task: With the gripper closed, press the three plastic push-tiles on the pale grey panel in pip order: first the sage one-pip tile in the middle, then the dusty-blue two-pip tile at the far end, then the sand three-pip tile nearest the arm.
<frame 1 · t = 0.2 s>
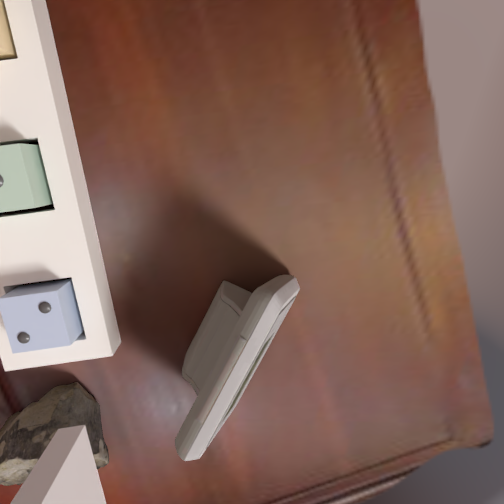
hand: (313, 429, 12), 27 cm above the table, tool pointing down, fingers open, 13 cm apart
tile one: (7, 179, 33), point 3 cm above the table, slide at 0.0 cm
tile panel: (27, 177, 36), on the table
tile two: (43, 314, 35), point 3 cm above the table, slide at 0.0 cm
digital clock: (240, 332, 41), on the table
grey rock: (64, 428, 42), on the table
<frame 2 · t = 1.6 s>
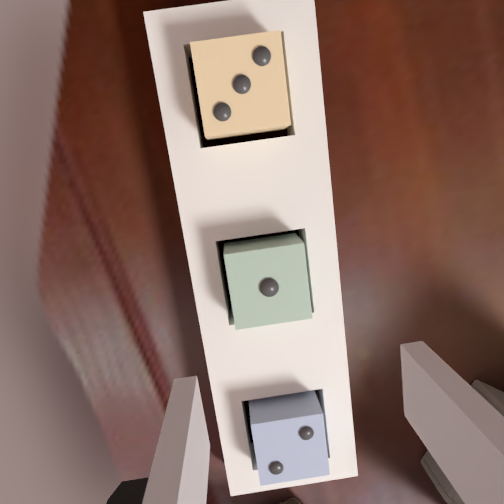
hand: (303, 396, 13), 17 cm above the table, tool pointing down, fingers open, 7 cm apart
tile three: (241, 90, 24), point 3 cm above the table, slide at 0.0 cm
tile one: (266, 279, 27), point 3 cm above the table, slide at 0.0 cm
tile panel: (262, 266, 30), on the table
tile two: (287, 433, 29), point 3 cm above the table, slide at 0.0 cm
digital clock: (482, 435, 35), on the table
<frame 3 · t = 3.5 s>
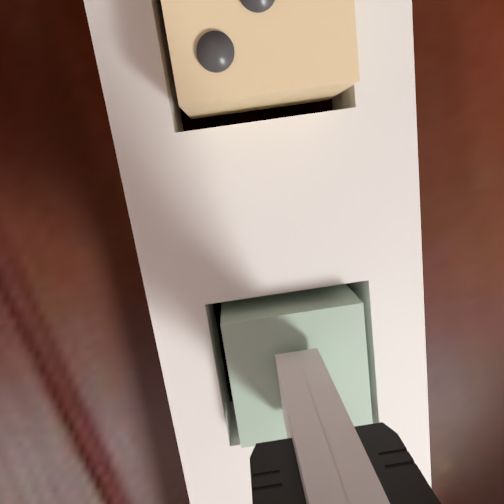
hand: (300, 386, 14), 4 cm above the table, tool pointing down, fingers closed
tile three: (253, 15, 12), point 3 cm above the table, slide at 0.0 cm
tile one: (292, 354, 16), point 2 cm above the table, slide at 1.3 cm, touching gripper
tile panel: (285, 333, 18), on the table
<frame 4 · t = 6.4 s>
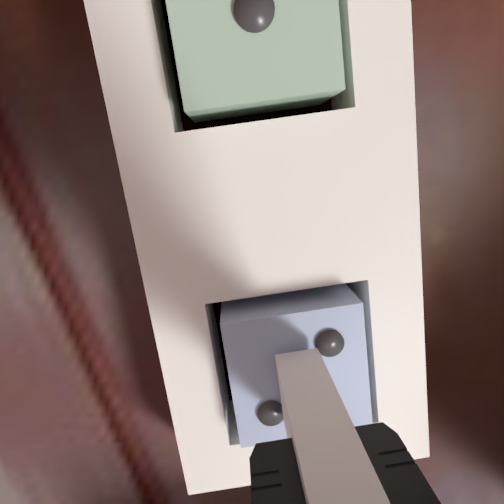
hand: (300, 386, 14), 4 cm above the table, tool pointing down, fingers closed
tile one: (251, 29, 13), point 2 cm above the table, slide at 1.3 cm
tile panel: (248, 46, 15), on the table
tile two: (292, 354, 16), point 2 cm above the table, slide at 1.3 cm, touching gripper
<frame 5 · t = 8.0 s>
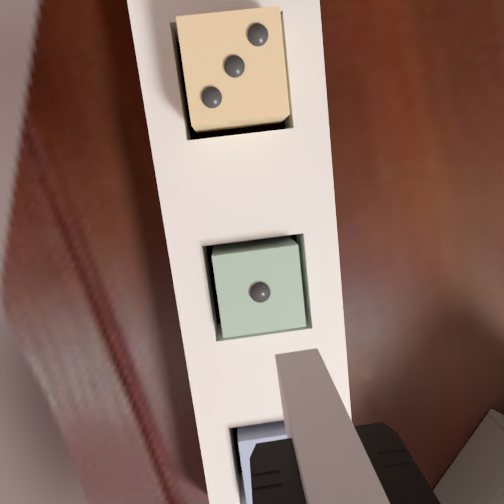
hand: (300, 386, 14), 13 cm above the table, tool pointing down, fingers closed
tile three: (233, 75, 21), point 3 cm above the table, slide at 0.0 cm
tile one: (257, 284, 25), point 2 cm above the table, slide at 1.3 cm
tile panel: (255, 276, 27), on the table
tile two: (277, 451, 27), point 2 cm above the table, slide at 1.3 cm
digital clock: (496, 471, 32), on the table
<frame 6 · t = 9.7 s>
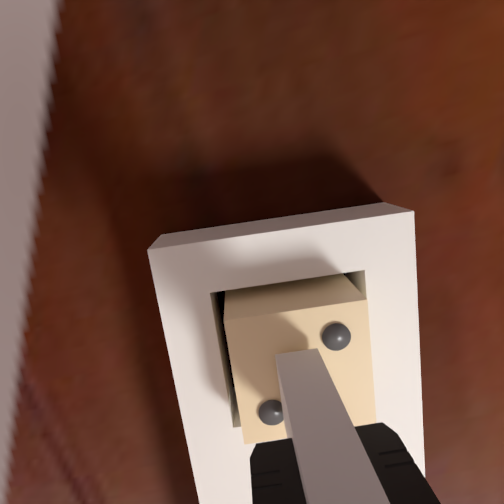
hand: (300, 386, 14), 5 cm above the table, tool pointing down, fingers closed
tile three: (295, 351, 16), point 3 cm above the table, slide at 0.4 cm, touching gripper
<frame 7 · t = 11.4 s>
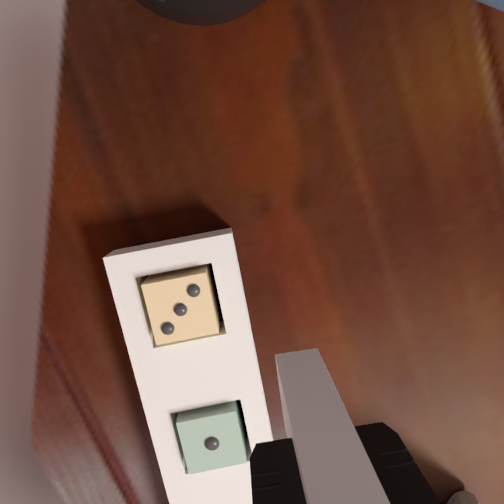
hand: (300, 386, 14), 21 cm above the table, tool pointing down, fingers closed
tile three: (183, 302, 32), point 2 cm above the table, slide at 1.4 cm
tile one: (212, 430, 35), point 2 cm above the table, slide at 1.3 cm
tile panel: (213, 416, 37), on the table
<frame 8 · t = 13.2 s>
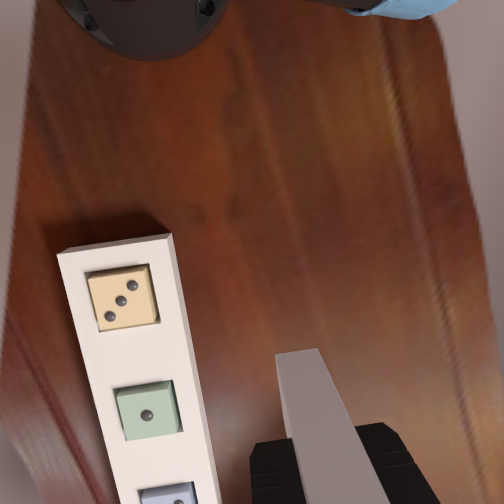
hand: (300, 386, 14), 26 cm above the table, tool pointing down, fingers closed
tile three: (126, 294, 38), point 2 cm above the table, slide at 1.4 cm
tile one: (150, 404, 41), point 2 cm above the table, slide at 1.3 cm
tile panel: (154, 393, 43), on the table
tile two: (172, 501, 44), point 2 cm above the table, slide at 1.3 cm
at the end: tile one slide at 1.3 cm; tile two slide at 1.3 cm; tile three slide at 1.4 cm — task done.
